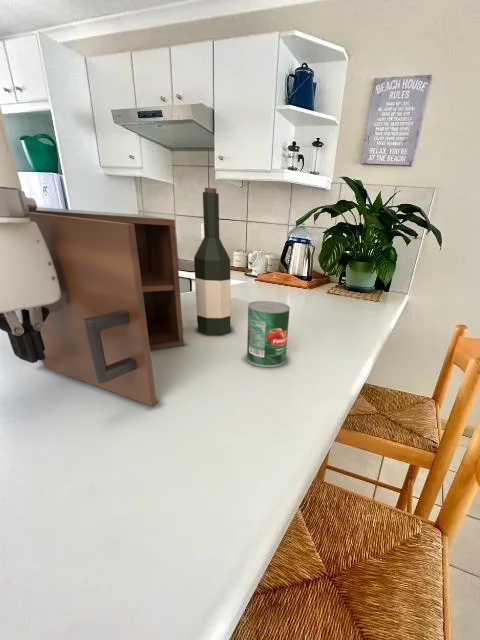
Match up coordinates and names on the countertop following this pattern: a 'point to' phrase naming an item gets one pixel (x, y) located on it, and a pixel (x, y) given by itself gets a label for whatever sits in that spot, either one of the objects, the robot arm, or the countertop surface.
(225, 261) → the wine bottle
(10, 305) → the robot arm
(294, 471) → the countertop surface
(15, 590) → the countertop surface
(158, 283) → the cupboard
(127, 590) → the countertop surface
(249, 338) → the canned tomato
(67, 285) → the cupboard door
